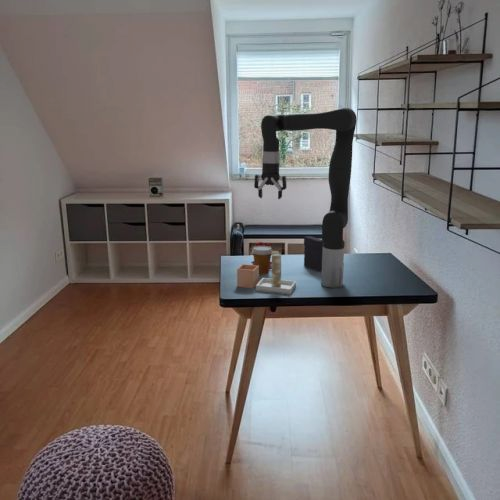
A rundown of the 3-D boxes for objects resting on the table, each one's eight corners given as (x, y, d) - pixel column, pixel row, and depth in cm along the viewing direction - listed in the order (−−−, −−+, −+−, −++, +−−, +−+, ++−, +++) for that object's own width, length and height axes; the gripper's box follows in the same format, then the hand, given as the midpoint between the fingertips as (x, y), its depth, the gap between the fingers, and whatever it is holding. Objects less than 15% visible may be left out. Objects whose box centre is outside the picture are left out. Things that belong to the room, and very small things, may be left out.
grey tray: (295, 286, 220) (295, 281, 219) (290, 294, 210) (290, 289, 209) (262, 282, 224) (262, 277, 224) (255, 290, 214) (255, 285, 213)
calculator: (324, 270, 243) (325, 240, 239) (317, 271, 241) (319, 241, 237) (309, 264, 252) (310, 235, 248) (302, 266, 250) (304, 236, 246)
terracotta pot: (258, 282, 224) (258, 265, 222) (253, 288, 217) (254, 270, 215) (242, 281, 226) (242, 264, 224) (237, 286, 219) (237, 268, 217)
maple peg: (281, 285, 218) (282, 254, 214) (279, 288, 214) (279, 257, 211) (272, 284, 219) (273, 253, 216) (270, 287, 216) (270, 256, 212)
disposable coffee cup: (270, 276, 234) (270, 251, 230) (250, 274, 235) (250, 250, 232) (273, 270, 243) (273, 246, 239) (253, 268, 244) (254, 244, 241)
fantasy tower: (274, 262, 255) (275, 239, 252) (273, 269, 244) (273, 245, 241) (251, 261, 256) (251, 238, 253) (249, 268, 245) (249, 244, 242)
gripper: (288, 161, 223) (287, 198, 227) (257, 160, 227) (257, 196, 231) (284, 163, 216) (283, 200, 220) (252, 161, 220) (252, 198, 224)
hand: (270, 198), depth 226 cm, fingers open, 8 cm apart
